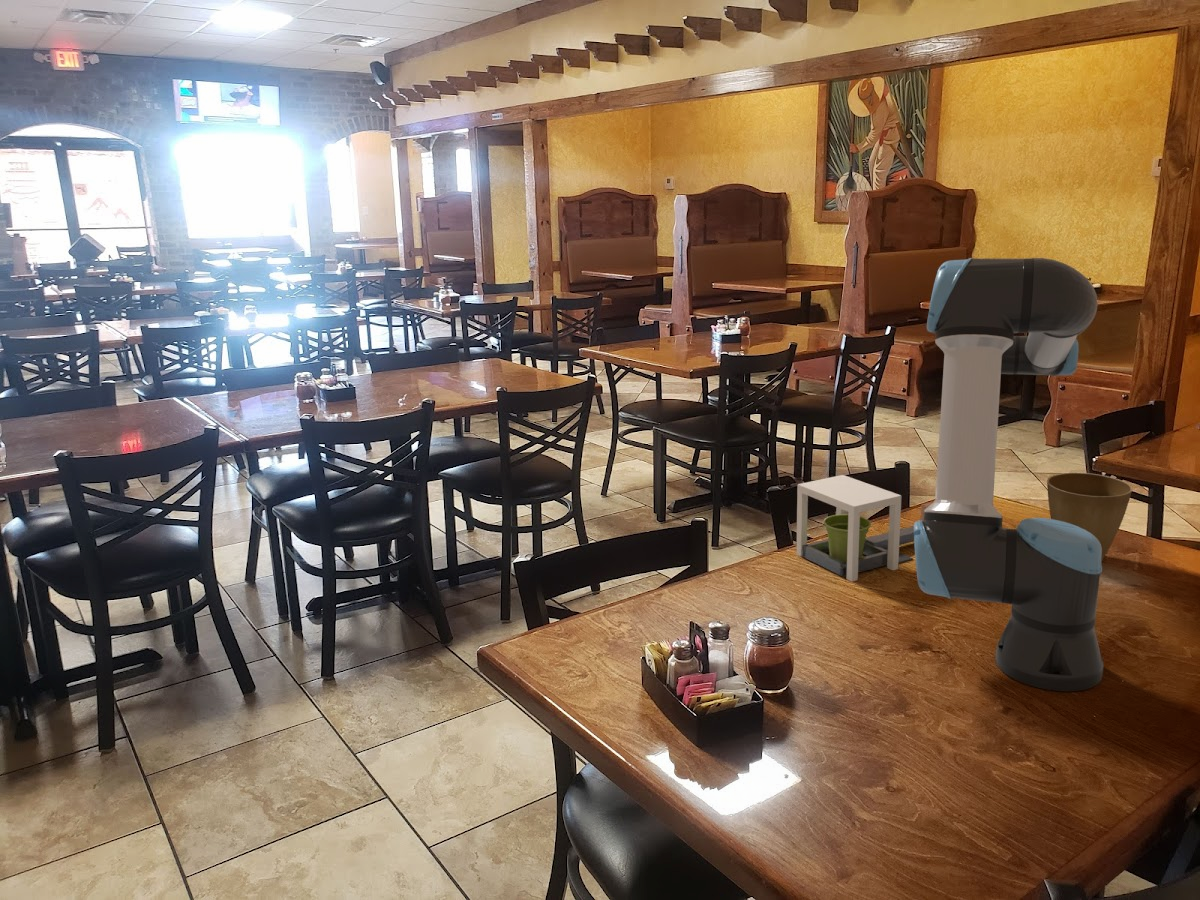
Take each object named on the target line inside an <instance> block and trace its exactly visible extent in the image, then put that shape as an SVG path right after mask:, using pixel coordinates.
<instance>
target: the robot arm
mask: <svg viewBox="0 0 1200 900" xmlns="http://www.w3.org/2000/svg"><path fill="white" fill-rule="evenodd" d="M930 298H931V299H930V302H929V306H928V307H929V309H928V310H929V311H928V313H927V314H928V316H927V320H926V321H927V322H926V330H927V332H929V333H931V334H935V338H934V339H935V342H934V343H935V344H936V346H937V347H939V349H940V350H941V351H942V352H943V354H944V356H943V357H944V358H943V371H942V372H943V373H942V374H943V375H942V386H941V387H942V388H941V405H940V420H939V432H938V433H939V436H938V447H937V448H938V449H937V462H936V463H937V465H936V479H935V494H934V495H935V497H934V499H935V500H933V502H931V503H932V504H931V505H930V506H929V507H928V508H926V509H925V510H924V521H923V522H922V520H921V519H919V520H917V521H915V522H914V524H913V526H914V546H913V547H914V555H915V571H916V577H917V585H918V587H919V589H920V590H921V591H923V592H924V594H927V595H931V596H936V597H937V596H939V597H943V598H947V599H949V600H950V599H961V600H970V601H981V602H990V603H997V604H1007V605H1011V613H1010V614H1011V615H1010V617H1009V619H1008V621H1007V623H1006V626H1005V627H1004V630H1003V632H1002V634H1001V636H1000V638H999V640H998V642H997V644H996V648H995V649H996V651H995V664H996V666H997V667H998V668H999V669H1000V671H1002V672H1003V673H1004V675H1007V676H1008V677H1009V678H1012V679H1014V680H1015V681H1018V682H1020V683H1023V684H1024V685H1028V686H1030V687H1034V688H1039V689H1043V690H1047V691H1048V690H1049V691H1057V692H1078V691H1085V690H1089V689H1092V688H1094V687H1096V686H1098V684H1100V683H1101V682H1102V679H1103V673H1104V661H1103V660H1104V659H1103V658H1102V655H1101V651H1100V647H1099V642H1098V637H1097V635H1096V631H1095V624H1096V614H1097V606H1098V596H1099V586H1100V577H1101V574H1102V572H1103V566H1102V561H1101V558H1102V548H1101V544H1100V542H1099V541H1098V539H1097V538H1096V537H1095V536H1094V535H1093V534H1091V533H1090V532H1088V531H1086V530H1084V529H1082V528H1080V527H1078V526H1075V525H1073V524H1070V523H1066V522H1062V521H1058V520H1053V519H1051V518H1048V517H1047V518H1046V517H1034V518H1030V517H1029V518H1028V517H1027V518H1024V519H1022V520H1020V521H1019V523H1018V525H1016V528H1006V527H1003V517H1004V516H1003V515H1002V514H1001V513H1000V511H999V510H998V509H997V508H996V507H995V506H994V491H995V473H996V457H997V442H998V440H997V439H998V427H999V409H1000V408H999V407H1000V395H1001V394H1000V393H1001V376H1002V375H1033V376H1036V375H1037V376H1052V377H1057V376H1071V375H1073V374H1074V373H1075V372H1076V371H1077V366H1078V362H1079V342H1078V339H1077V337H1078V335H1080V334H1082V333H1083V332H1084V331H1085V330H1087V328H1088V327H1090V325H1092V324H1091V323H1092V322H1093V320H1094V319H1095V316H1096V314H1097V312H1098V311H1097V310H1098V295H1097V292H1096V290H1095V288H1094V286H1093V284H1092V283H1091V282H1090V280H1089V279H1088V278H1087V277H1086V276H1085V275H1084V274H1082V273H1081V272H1080V271H1078V270H1077V269H1076V268H1074V267H1072V266H1071V265H1069V264H1066V263H1065V262H1061V261H1058V260H1056V259H1052V258H1044V257H1032V258H1031V257H1030V258H973V257H970V258H969V257H968V259H953V260H951V259H950V260H947V261H945V262H943V263H942V264H941V265H940V266H939V267H938V270H937V273H936V276H935V280H934V283H933V287H932V292H931V297H930ZM1027 333H1028V335H1015V334H1027Z"/></svg>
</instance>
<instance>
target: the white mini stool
mask: <svg viewBox="0 0 1200 900" xmlns="http://www.w3.org/2000/svg"><path fill="white" fill-rule="evenodd" d="M796 492H797V493H796V495H797V496H796V497H797V499H796V500H797V502H796V503H797V504H796V555H797V556H798V557H802V550H803V545H806V544H808V511H809V510H808V506H809V504H808V503H809V500H808V499H809V497H810V498H813V499H815V500H818V501H821V502H822V503H824V504H825V503H826V504H827V505H831V506H833V507H835V508H836V510H835V511H836V513H835V515H840V514H848V545H847V576H846V580H848V582H849V581H850V582H851V583H852V582H856V581H858V580H859V572H858V555H859V525H860V517H861V513H863V512H868V511H873V510H877V509H880V508H881V509H882V508H884V507H889V513H888V532H889V534H888V548H887V549H885V550H888V557H887V565H886V568H887V569H889V570H890V571H895V570H899V564H902V563H905V562H909V561H913V560H914V557H911V556H909V555H907V554H904V553H903V552H900V545H899V538H900V529H901V515H902V495H901V494H898V493H895V492H893V491H890V490H886V489H884V488H881V487H879V486H876V485H873V484H870V483H866V482H864V481H861V480H859V479H856V478H853V477H851V476H847V475H844V474H841V475H836V476H831V477H830V476H829V477H827V478H826V477H825V478H822V479H817V480H812V481H807V482H802V483H798V484H797V491H796Z"/></svg>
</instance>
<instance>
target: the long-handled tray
mask: <svg viewBox="0 0 1200 900" xmlns="http://www.w3.org/2000/svg"><path fill="white" fill-rule="evenodd" d="M932 503H933V502H926V503H922V504H921V505H920V506H921V507H920V508H921V509H920V520H922V522H923V521H924V510H925V509H926V508H928V507H929V506H930V505H931V504H932ZM888 534H889V531H887V532H884V533H880V534H876V535H873V536H868V537H866V538H865V543H864V548H863V554H862V555H866V556H862V558H858V573H861V572H865V571H869V570H873V569H876V568H880V567H884V566H887V557H888V549H887V548H888ZM913 542H914V525H913V526H908V527H904V528H900V538H899V546H902V545H905V544H906V545H907V544H909V543H913ZM885 549H887V550H885ZM827 553H830V551H829V542H828V538H826V539H823V540H820V541H815V542H810V543H807V544H806V545H803V550H802V556H801V557H802V558H804V559H807V560H808V561H810V562H813V563H814V564H816V565H819V566H820V567H822V568H824V569H827V570H828V571H831V572H833V573H835V574H836V575H837V576H841V577H843V578H844V577H847V562H842V561H840V560H838V559H836V558H834V557H832V556H830V554H827Z"/></svg>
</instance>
